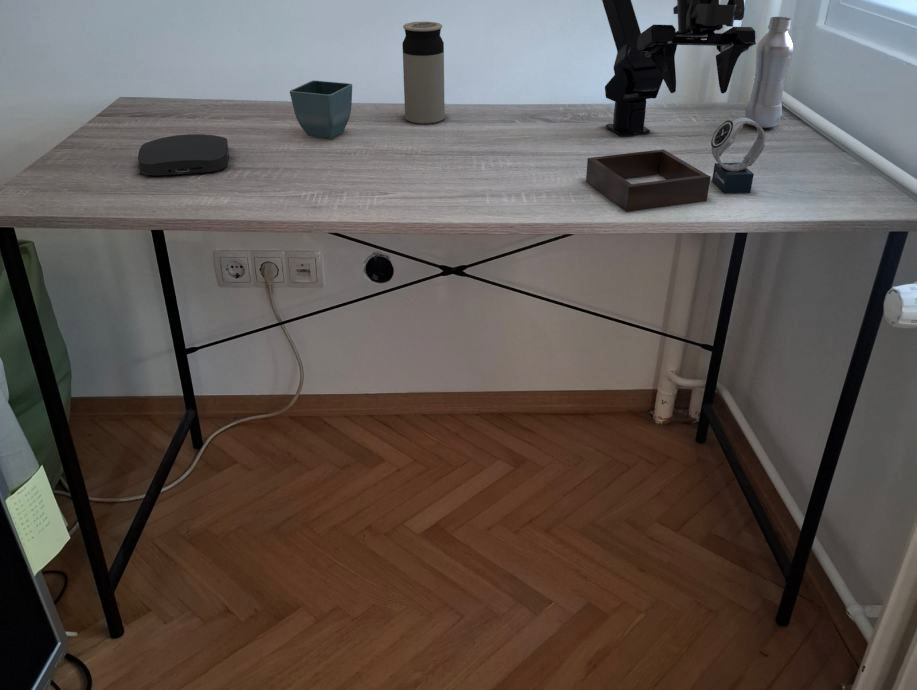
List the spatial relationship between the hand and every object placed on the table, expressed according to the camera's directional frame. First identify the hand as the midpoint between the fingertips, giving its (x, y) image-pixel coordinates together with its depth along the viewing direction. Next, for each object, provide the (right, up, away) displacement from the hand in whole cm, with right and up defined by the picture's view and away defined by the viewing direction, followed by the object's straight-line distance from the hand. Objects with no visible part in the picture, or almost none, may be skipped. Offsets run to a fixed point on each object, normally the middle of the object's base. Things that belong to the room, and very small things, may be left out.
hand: (698, 92), depth 136 cm
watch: (+4, -16, -2) cm, 17 cm away
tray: (-10, -17, -3) cm, 20 cm away
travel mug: (-46, +4, +31) cm, 56 cm away
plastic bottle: (+20, +1, +27) cm, 33 cm away
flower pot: (-65, -1, +23) cm, 69 cm away
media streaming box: (-87, -10, +9) cm, 88 cm away
